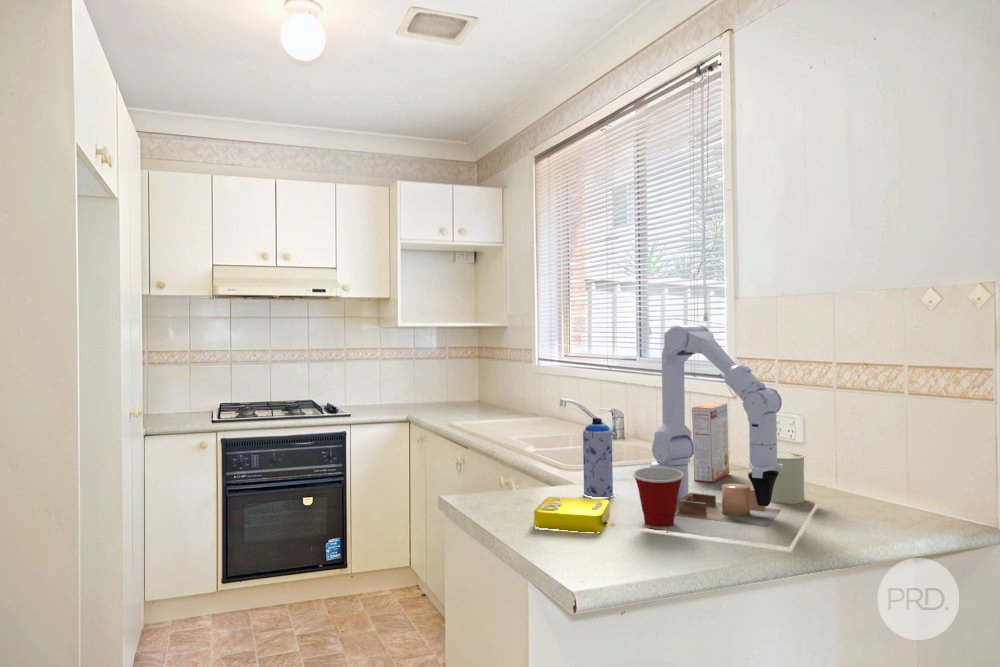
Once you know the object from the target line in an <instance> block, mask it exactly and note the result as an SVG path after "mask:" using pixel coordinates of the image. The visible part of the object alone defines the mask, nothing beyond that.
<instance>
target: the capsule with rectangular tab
mask: <svg viewBox="0 0 1000 667" xmlns="http://www.w3.org/2000/svg"><path fill="white" fill-rule="evenodd" d="M721 499H722V500H721V503H722V513H723V514H726V515H729V516H737V517H743V516H749V515H750V510H755V511H763V512H765V511H766V508H767V506H759V505H758V503H757V499H756V495H755V491H754V488H751V486H749V485H746V484H743V483H742V484H741V483H724V484H722V485H721Z"/></svg>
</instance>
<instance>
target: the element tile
mask: <svg viewBox="0 0 1000 667" xmlns="http://www.w3.org/2000/svg"><path fill="white" fill-rule="evenodd" d="M610 506H611V504H610V501H609V500H608V499H590V498H586V497H568V496H567V497H564V496H548V497H547V498H545V499H544V500H543V501H542V502H541V503H540V504H539V505H538V506H537V507H536V508H535V509H534V510H533V527H534V526H536V527H539V528H548V529H559V530H568V531H578V532H594V533H597V532H602V531H603V530H605V529H606V527H607V525H606V524H608V523H607V522H608V519H609V518H610V516H611V508H610ZM605 526H606V527H605ZM604 528H605V529H604ZM603 532H604V531H603ZM603 532H602V533H603Z"/></svg>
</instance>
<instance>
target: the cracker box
mask: <svg viewBox="0 0 1000 667" xmlns="http://www.w3.org/2000/svg"><path fill="white" fill-rule="evenodd" d="M728 414H729V413H728V403H727V402H712V401H711V402H707V403H703V404H700V405H697V406H692V407H691V415H692V416H691V417H692V418H691V420H692V425H691V426H692V440H693V443H694V447H695V450H694V454H693V456H692V457H693V479H694V481H695V482H706V483H714V482H717V481H718V480H721V479H722V478H723V477H725V476H727V475H729V474H730V461H729V460H730V451H729V421H728Z"/></svg>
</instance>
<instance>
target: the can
mask: <svg viewBox="0 0 1000 667" xmlns="http://www.w3.org/2000/svg"><path fill="white" fill-rule="evenodd" d="M777 463H778V464H783V468H777V469H773V470H771V471H778V472H779V474H778V476H777V478H776V480H775V483H774V487H773V491H772V497H771V502H772V503H778V504H786V505H787V504H789V505H790V504H801V503H804V502H805V500H806V499H805V455H804V454H802V453H797V452H796V453H795V452H788V451H786V452H785V451H777Z"/></svg>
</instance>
